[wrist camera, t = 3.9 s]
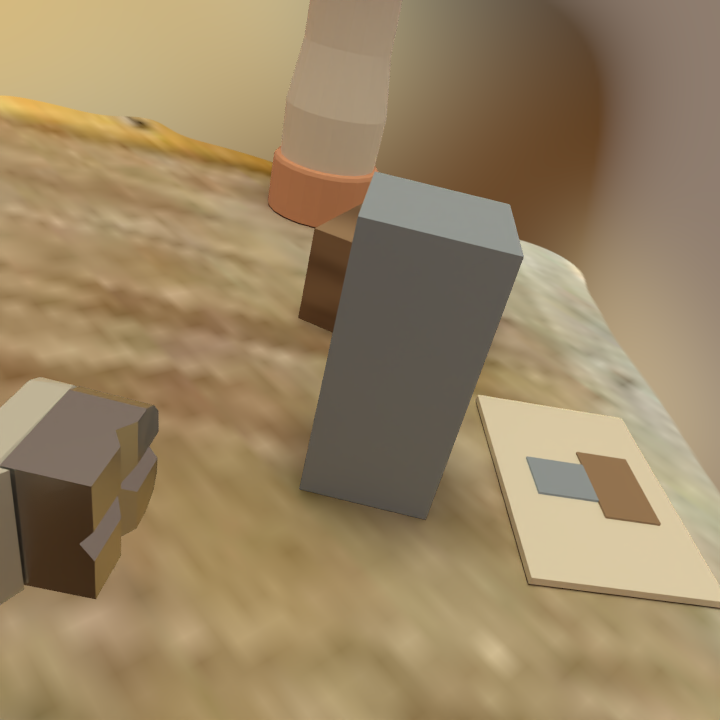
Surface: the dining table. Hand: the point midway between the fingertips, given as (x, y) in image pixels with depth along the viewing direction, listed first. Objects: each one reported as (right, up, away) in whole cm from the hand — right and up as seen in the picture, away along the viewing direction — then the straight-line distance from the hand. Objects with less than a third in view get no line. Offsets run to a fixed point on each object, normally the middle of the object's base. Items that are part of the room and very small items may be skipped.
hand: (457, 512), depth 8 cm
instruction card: (+7, -3, +17) cm, 19 cm away
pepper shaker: (-4, +13, +37) cm, 40 cm away
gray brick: (-1, -2, +16) cm, 16 cm away
